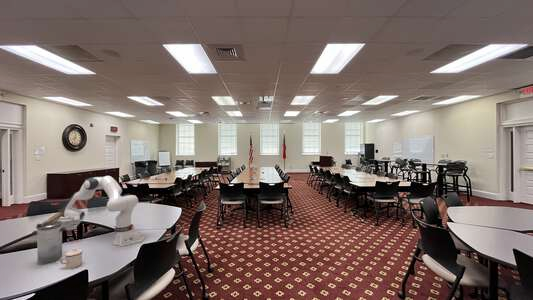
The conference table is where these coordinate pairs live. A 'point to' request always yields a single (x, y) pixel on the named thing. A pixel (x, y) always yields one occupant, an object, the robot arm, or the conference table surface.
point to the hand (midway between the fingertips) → (62, 218)
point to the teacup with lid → (73, 258)
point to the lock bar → (56, 216)
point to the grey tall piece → (49, 242)
